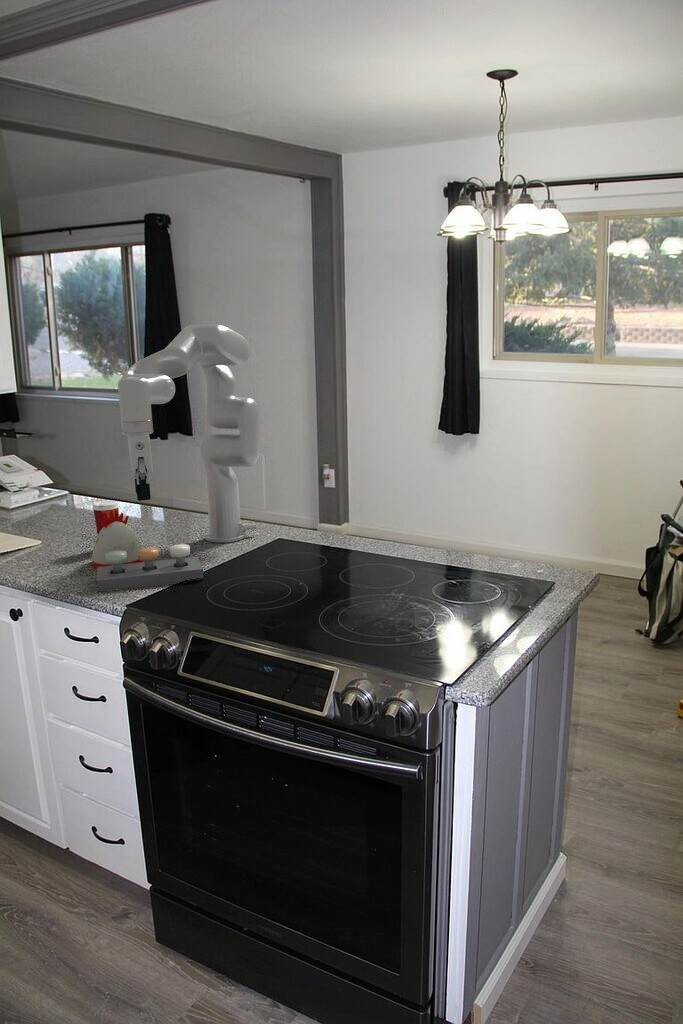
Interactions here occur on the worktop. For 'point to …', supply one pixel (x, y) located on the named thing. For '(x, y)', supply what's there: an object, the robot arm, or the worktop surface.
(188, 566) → the console
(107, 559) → the button sage
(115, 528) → the white rounded crested piece
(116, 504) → the paper cup
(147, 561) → the button terracotta
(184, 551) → the button ivory
